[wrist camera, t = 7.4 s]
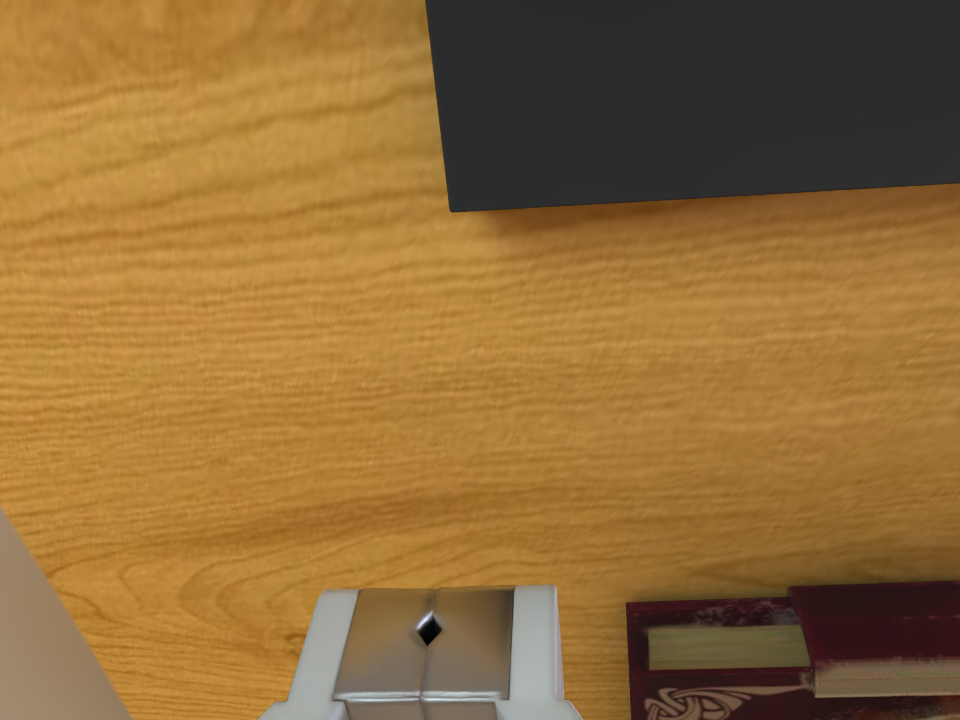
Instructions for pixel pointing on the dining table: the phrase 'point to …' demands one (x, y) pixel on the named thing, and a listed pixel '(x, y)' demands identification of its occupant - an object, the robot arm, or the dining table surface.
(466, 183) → the scale
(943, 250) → the dining table surface
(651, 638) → the book
